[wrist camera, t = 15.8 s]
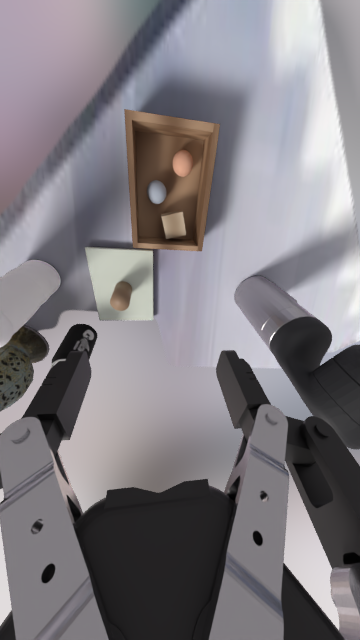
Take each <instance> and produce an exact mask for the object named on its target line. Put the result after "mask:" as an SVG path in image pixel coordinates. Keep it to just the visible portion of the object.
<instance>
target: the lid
mask: <svg viewBox="0 0 360 640" xmlns="http://www.w3.org/2000/svg"><path fill="white" fill-rule="evenodd" d="M85 251H86V256H87V261H88V266H89V271H90V276H91V281H92V285H93V290H94V295H95V300H96V305H97V310H98V314H99V319H100V320H153V250H141V249H121V248H100V247H85Z"/></svg>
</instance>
